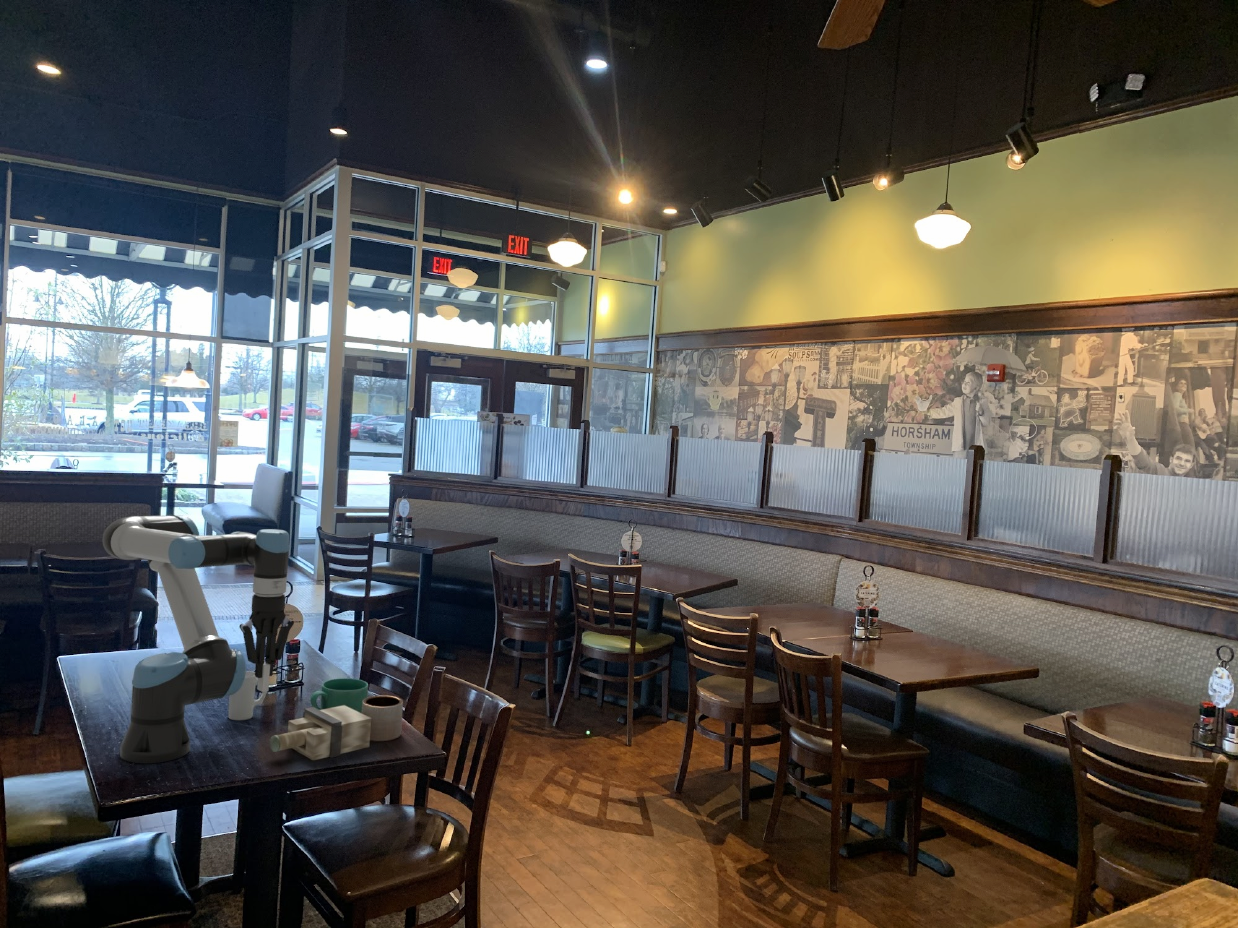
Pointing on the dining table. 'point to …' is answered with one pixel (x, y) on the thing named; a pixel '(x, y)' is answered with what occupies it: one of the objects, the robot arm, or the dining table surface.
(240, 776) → the dining table surface
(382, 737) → the planter
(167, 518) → the robot arm
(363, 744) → the sleeve block
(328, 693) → the mug
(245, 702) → the mug
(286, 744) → the dowel
